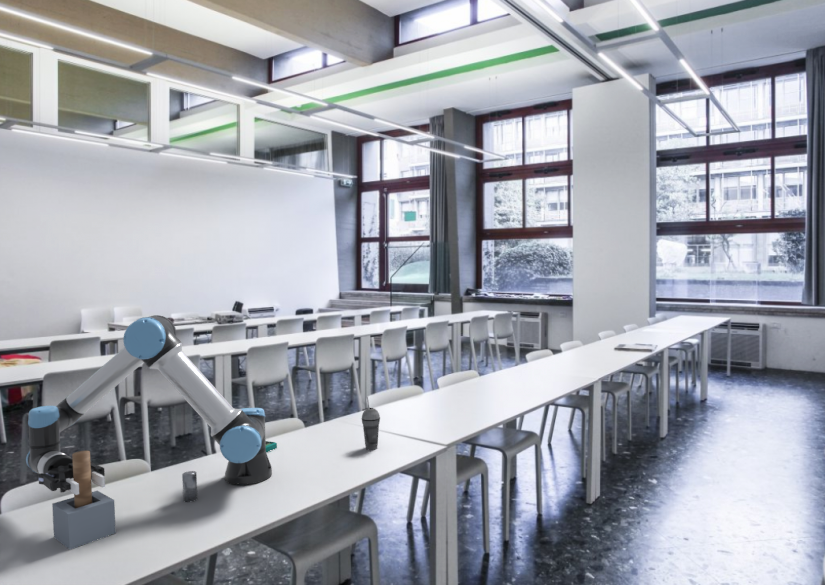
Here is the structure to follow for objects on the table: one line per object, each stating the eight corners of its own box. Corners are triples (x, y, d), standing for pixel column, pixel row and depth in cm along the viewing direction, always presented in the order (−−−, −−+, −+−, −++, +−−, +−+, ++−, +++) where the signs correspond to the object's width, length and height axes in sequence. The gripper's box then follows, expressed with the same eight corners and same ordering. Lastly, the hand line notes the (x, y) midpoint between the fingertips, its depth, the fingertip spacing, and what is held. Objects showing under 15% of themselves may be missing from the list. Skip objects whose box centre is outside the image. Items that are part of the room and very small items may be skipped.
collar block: (98, 522, 156) (97, 490, 156) (115, 533, 149) (114, 499, 148) (53, 537, 147) (52, 503, 147) (69, 549, 140) (68, 514, 140)
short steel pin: (193, 495, 174) (192, 470, 173) (199, 498, 171) (198, 472, 171) (180, 499, 170) (179, 473, 170) (187, 503, 168) (186, 476, 168)
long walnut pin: (90, 530, 151) (86, 449, 150) (96, 534, 148) (92, 452, 148) (73, 536, 148) (69, 453, 147) (79, 540, 145) (75, 456, 145)
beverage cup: (378, 451, 213) (377, 398, 213) (360, 450, 214) (358, 398, 214) (382, 445, 220) (381, 394, 220) (364, 444, 222) (363, 394, 221)
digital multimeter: (249, 444, 227) (249, 437, 227) (277, 449, 220) (277, 441, 220) (236, 449, 221) (235, 442, 221) (265, 454, 214) (264, 446, 214)
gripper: (93, 471, 166) (128, 488, 151) (19, 490, 152) (50, 512, 137) (92, 446, 166) (127, 461, 151) (18, 463, 152) (49, 481, 137)
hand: (90, 485), depth 144 cm, fingers open, 5 cm apart
